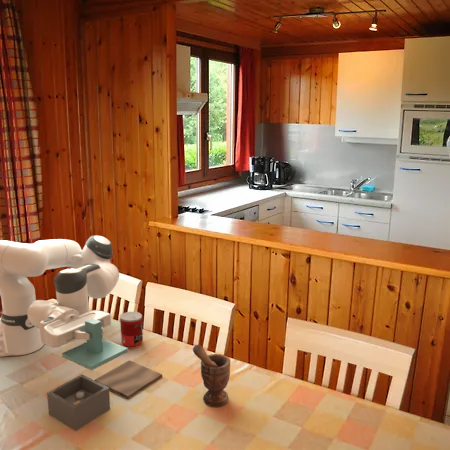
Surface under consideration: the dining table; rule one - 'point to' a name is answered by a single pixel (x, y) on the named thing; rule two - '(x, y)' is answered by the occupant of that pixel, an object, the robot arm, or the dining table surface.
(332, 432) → the dining table surface
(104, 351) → the lid
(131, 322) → the canned food
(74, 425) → the tub
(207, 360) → the mortar and pestle
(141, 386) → the board
